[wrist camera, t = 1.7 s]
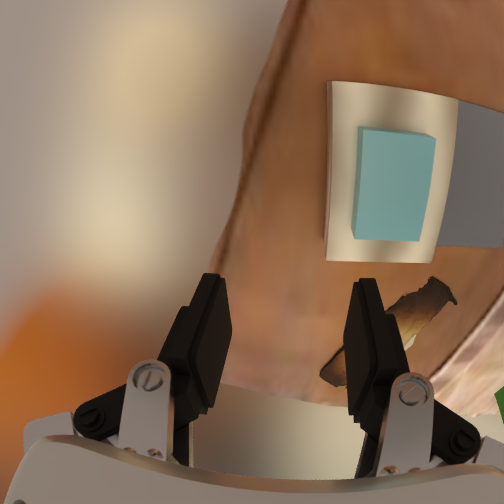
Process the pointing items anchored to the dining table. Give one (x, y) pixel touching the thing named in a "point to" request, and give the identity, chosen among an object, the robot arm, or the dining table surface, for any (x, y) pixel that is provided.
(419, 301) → the parchment
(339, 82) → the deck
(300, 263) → the dining table surface
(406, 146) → the tile
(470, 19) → the dining table surface
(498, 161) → the mat
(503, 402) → the hardback book
